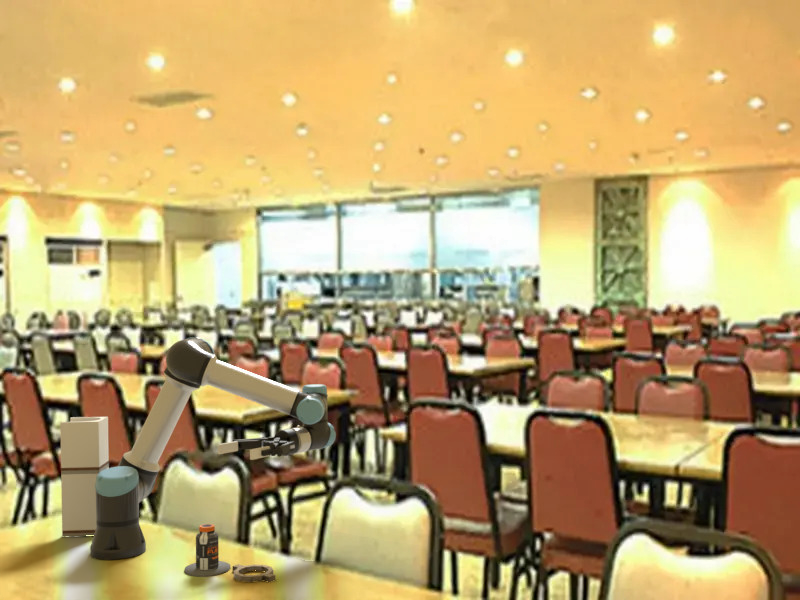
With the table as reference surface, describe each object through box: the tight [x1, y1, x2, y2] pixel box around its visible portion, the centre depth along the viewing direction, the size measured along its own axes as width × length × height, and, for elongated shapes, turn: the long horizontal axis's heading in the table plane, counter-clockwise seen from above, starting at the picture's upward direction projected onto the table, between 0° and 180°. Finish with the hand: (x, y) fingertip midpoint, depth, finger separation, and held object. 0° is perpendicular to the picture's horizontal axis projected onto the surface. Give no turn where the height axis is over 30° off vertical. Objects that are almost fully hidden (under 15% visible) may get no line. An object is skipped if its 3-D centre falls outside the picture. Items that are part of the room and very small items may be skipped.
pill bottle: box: [195, 523, 220, 570], centre depth 242 cm, size 6×6×11 cm
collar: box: [232, 564, 276, 583], centre depth 236 cm, size 15×10×1 cm
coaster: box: [184, 560, 231, 577], centre depth 242 cm, size 12×12×1 cm
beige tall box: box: [59, 416, 110, 537], centre depth 280 cm, size 11×11×35 cm
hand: (234, 451), depth 249 cm, fingers open, 13 cm apart
